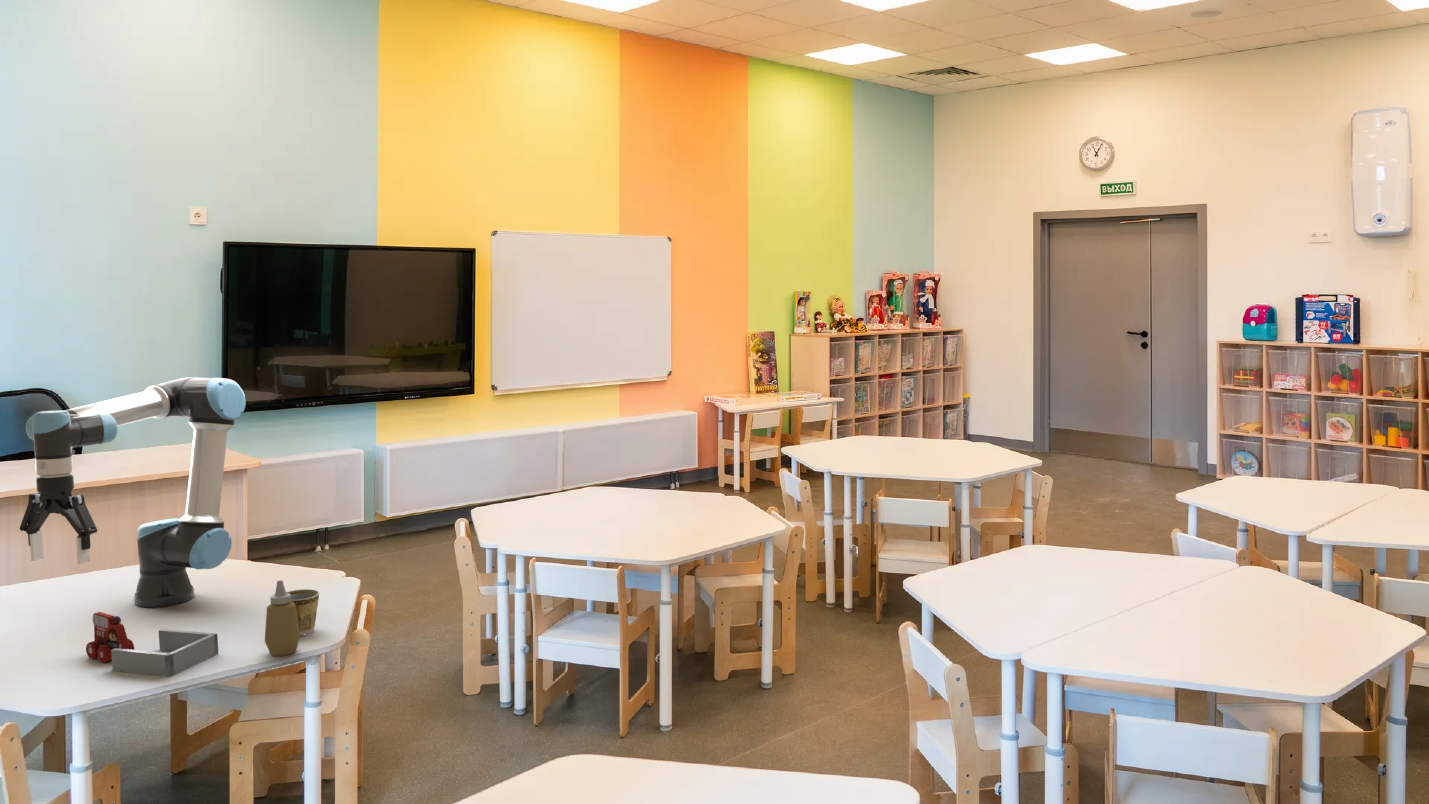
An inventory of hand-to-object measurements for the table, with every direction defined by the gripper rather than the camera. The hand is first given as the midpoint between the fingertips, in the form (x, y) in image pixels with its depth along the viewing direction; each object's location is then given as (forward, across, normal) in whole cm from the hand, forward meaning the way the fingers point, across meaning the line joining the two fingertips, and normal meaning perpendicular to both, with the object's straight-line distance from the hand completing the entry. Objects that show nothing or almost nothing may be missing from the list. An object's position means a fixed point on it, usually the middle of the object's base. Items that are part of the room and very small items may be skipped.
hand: (60, 561), depth 243 cm
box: (+23, +29, 0) cm, 37 cm away
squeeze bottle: (+23, +52, +11) cm, 58 cm away
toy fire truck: (+23, +13, 0) cm, 27 cm away
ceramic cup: (+23, +46, +26) cm, 58 cm away
